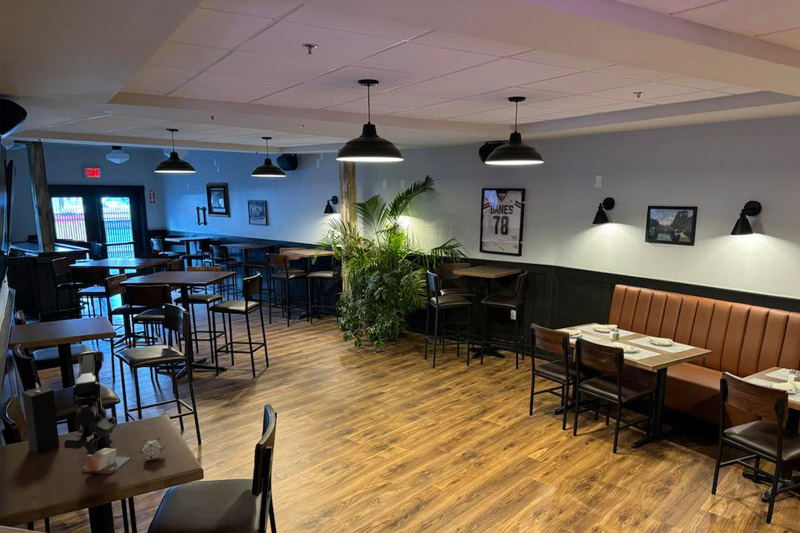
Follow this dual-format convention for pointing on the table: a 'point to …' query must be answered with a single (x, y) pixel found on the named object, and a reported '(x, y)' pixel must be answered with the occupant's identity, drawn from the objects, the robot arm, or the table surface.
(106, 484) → the table surface
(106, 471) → the stop rail
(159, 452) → the game die
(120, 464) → the mat
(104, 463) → the marked block
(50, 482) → the table surface
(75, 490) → the table surface
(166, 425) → the table surface
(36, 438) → the tall black block
